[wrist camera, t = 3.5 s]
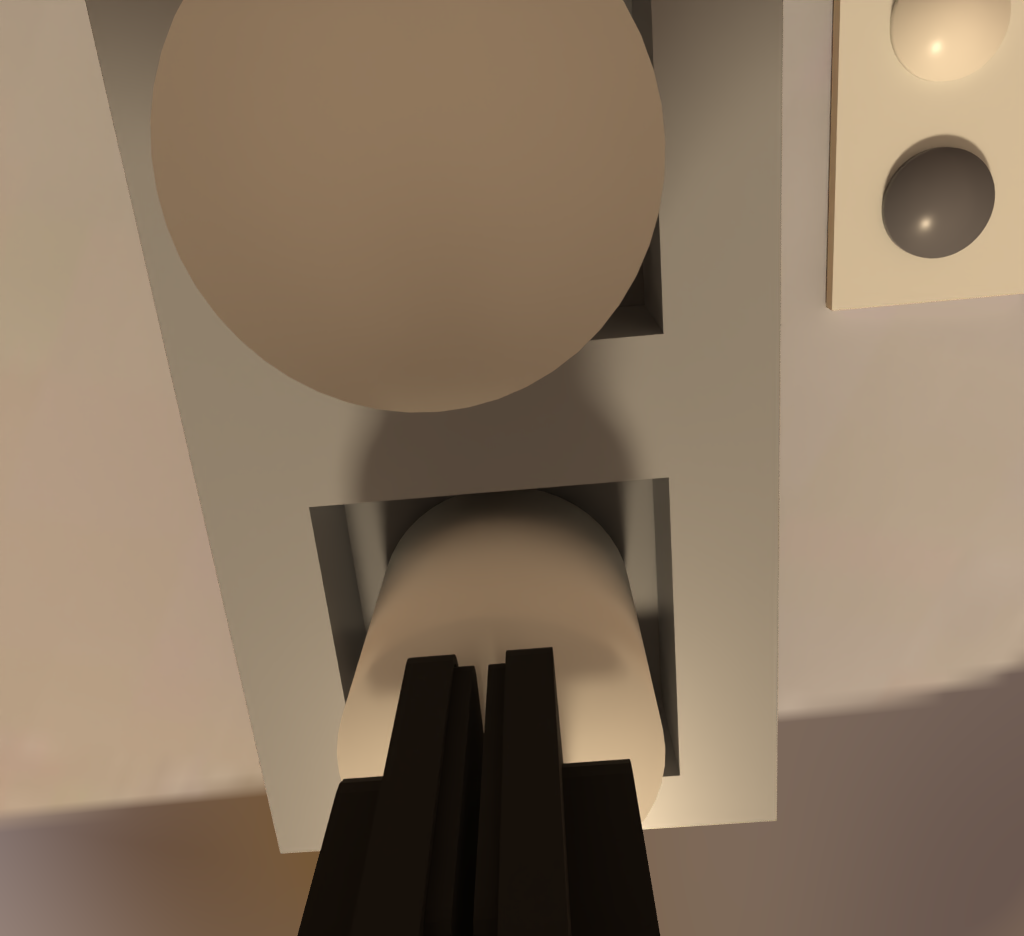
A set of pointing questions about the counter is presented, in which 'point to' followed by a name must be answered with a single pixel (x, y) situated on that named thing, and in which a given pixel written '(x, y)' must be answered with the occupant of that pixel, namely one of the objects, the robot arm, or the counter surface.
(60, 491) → the counter surface
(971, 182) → the card
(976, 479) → the counter surface
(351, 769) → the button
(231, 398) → the button board
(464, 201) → the button mid
